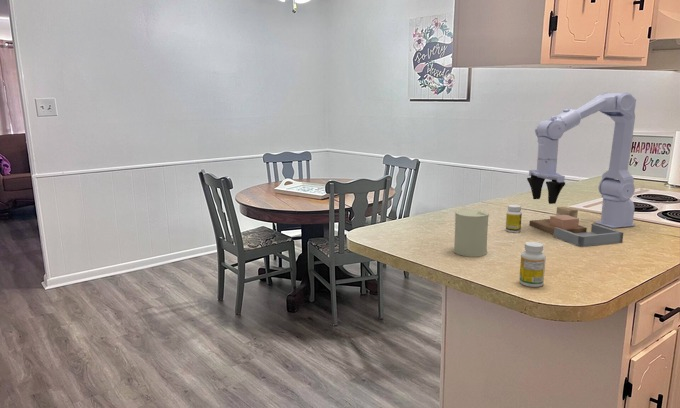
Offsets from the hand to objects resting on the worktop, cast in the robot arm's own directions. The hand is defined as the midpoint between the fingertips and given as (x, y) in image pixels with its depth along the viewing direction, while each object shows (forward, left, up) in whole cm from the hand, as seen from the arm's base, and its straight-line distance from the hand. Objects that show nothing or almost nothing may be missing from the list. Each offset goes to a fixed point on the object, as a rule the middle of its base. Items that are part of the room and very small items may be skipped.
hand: (544, 201), depth 158 cm
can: (+33, +12, -10) cm, 37 cm away
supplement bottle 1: (+8, -4, -10) cm, 14 cm away
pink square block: (-7, +1, -8) cm, 11 cm away
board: (-7, -2, -10) cm, 12 cm away
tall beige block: (-16, -8, -10) cm, 21 cm away
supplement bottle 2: (+32, +38, -10) cm, 51 cm away
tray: (-7, +11, -10) cm, 17 cm away
